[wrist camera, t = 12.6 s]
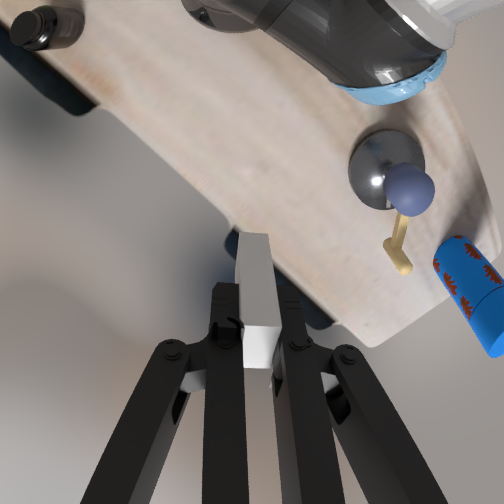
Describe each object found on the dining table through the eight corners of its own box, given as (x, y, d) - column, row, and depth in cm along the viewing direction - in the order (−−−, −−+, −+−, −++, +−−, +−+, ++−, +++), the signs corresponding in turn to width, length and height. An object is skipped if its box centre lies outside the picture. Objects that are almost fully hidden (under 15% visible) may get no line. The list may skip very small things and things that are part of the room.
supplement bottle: (67, 2, 29) (25, -6, 19) (93, 22, 32) (53, 16, 22) (42, 36, 32) (-3, 38, 22) (66, 56, 35) (22, 62, 25)
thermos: (475, 233, 56) (540, 309, 36) (463, 271, 62) (516, 349, 42) (438, 237, 57) (504, 323, 36) (427, 277, 63) (479, 364, 42)
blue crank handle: (385, 160, 41) (407, 178, 36) (424, 163, 41) (448, 181, 36) (369, 250, 50) (384, 276, 44) (405, 248, 50) (422, 273, 45)
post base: (347, 130, 45) (361, 140, 40) (423, 129, 44) (442, 139, 39) (347, 209, 52) (359, 227, 48) (417, 202, 52) (432, 218, 47)
